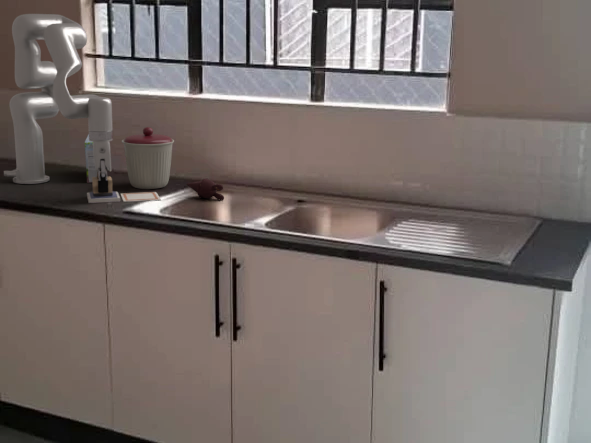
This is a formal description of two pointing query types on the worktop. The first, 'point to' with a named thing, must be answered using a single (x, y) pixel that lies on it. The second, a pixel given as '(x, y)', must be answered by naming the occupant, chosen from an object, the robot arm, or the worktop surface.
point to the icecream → (207, 189)
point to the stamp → (95, 186)
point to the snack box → (89, 160)
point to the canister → (148, 159)
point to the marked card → (139, 196)
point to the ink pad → (103, 198)
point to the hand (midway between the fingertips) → (102, 189)
